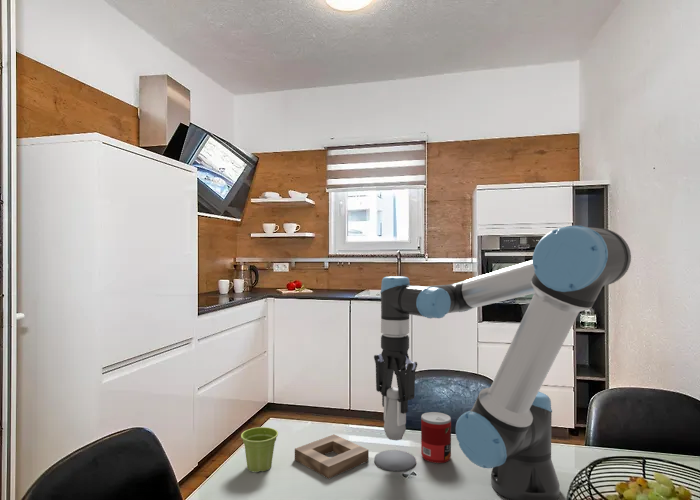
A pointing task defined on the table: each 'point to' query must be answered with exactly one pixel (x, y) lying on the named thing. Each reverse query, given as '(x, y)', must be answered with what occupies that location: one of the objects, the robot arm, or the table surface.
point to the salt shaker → (393, 416)
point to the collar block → (330, 467)
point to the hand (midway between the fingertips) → (394, 421)
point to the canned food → (436, 437)
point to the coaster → (395, 460)
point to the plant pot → (259, 447)
